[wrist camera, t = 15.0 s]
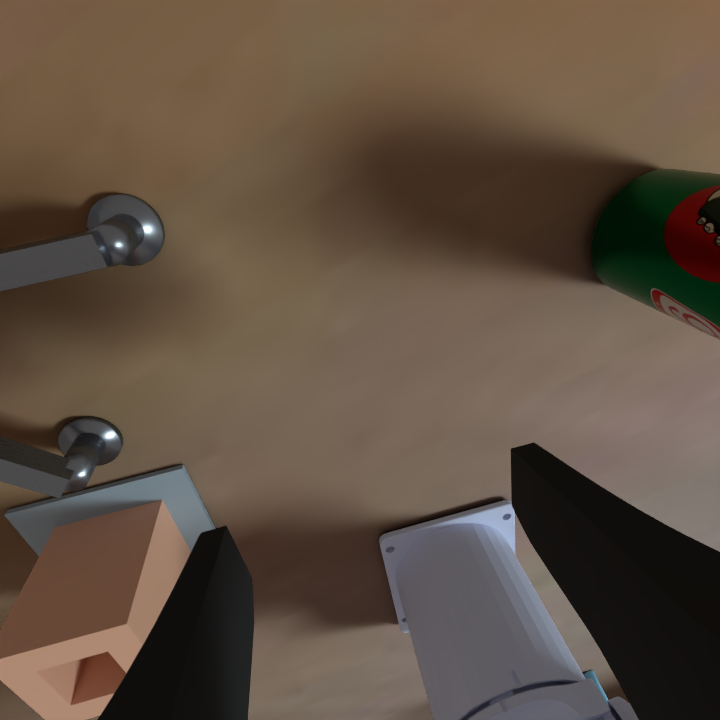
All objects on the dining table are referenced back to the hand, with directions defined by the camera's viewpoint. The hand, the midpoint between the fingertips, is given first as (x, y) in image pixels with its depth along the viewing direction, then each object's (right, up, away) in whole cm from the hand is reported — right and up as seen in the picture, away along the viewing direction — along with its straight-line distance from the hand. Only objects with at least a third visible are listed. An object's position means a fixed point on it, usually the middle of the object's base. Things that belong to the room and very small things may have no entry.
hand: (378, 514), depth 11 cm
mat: (-12, -5, +11) cm, 17 cm away
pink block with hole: (-12, -6, +11) cm, 17 cm away
